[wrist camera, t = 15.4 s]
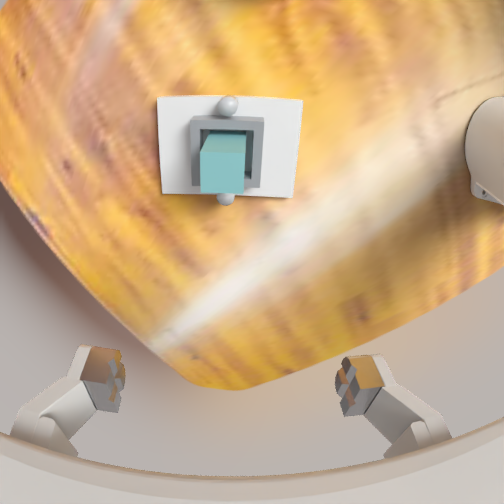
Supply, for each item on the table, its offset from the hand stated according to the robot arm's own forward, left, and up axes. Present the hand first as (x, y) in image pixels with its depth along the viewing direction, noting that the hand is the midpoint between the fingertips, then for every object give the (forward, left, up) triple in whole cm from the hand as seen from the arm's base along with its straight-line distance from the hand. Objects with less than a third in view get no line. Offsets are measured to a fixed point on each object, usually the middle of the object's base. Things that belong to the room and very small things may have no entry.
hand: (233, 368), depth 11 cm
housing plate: (+2, +1, -30) cm, 30 cm away
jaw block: (+2, +1, -29) cm, 29 cm away
